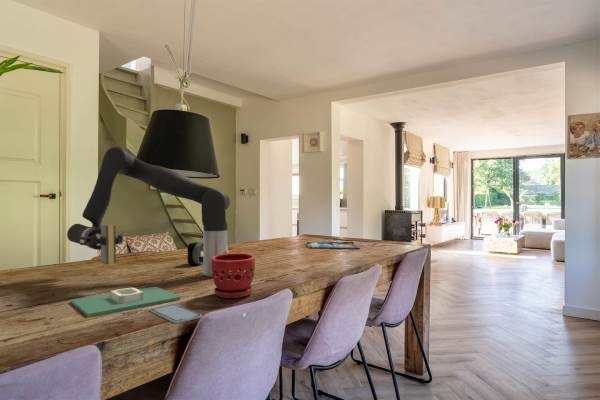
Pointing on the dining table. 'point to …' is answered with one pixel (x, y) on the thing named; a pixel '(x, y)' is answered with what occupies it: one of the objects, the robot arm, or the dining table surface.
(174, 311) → the smartphone
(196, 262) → the cpu cooler
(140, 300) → the board
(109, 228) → the keyed plug
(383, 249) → the dining table surface
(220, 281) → the plant pot
